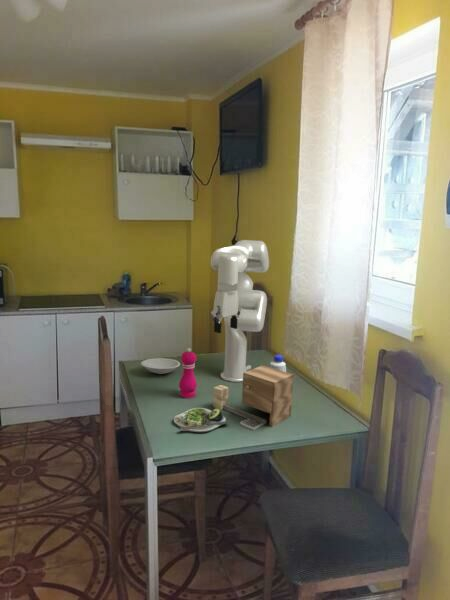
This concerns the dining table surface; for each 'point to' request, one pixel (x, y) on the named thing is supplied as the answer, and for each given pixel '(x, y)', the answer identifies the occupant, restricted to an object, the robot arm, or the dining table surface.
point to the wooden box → (268, 392)
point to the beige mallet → (222, 403)
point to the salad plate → (200, 420)
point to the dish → (160, 365)
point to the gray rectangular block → (252, 423)
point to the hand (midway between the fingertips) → (225, 330)
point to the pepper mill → (188, 375)
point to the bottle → (278, 363)
